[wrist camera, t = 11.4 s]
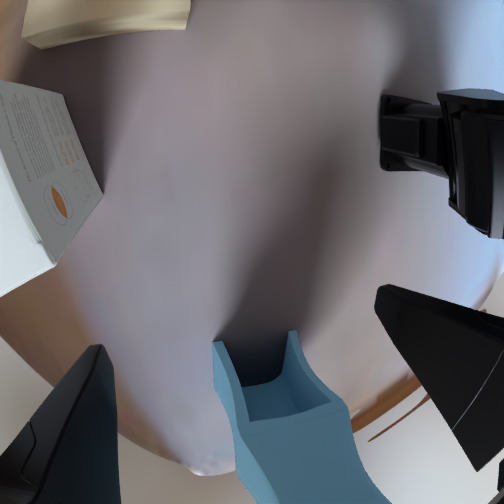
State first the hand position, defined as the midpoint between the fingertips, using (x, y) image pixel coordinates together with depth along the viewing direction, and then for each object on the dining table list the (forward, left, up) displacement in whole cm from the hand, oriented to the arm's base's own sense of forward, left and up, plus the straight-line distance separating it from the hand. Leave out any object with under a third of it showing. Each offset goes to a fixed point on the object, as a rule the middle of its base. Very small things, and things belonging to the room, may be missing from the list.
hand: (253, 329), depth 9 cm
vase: (-3, +16, -13) cm, 21 cm away
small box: (+10, -5, -13) cm, 17 cm away
